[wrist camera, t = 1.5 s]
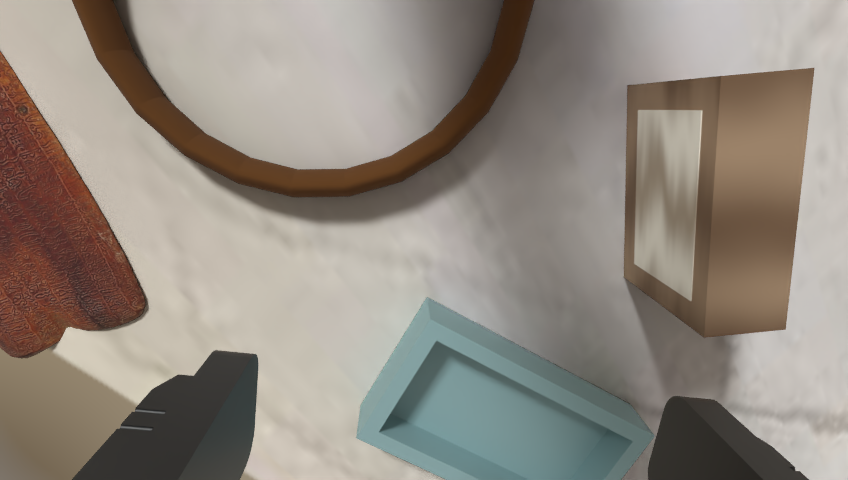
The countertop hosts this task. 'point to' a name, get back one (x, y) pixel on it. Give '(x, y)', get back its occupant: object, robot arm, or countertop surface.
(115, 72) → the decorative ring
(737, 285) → the picture frame
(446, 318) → the light blue rectangular tray
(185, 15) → the countertop surface
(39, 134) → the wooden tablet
